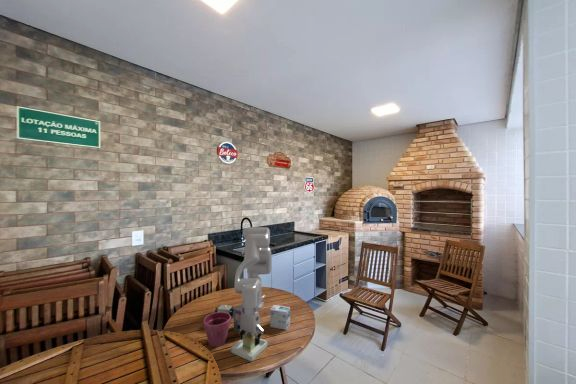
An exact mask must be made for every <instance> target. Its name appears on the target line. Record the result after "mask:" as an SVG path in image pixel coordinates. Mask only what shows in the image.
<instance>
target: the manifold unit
mask: <svg viewBox="0 0 576 384" xmlns="http://www.w3.org/2000/svg"><path fill="white" fill-rule="evenodd" d="M241 311H242V303H240V304H239V305H238V306H236V307H234V317H233V332H235V333H237V334H239V335H240V332H239V329H238V327H237V326H238V325H237V323H236V321H238V320H240V317H241ZM246 332H247V331H245V333H246Z"/></svg>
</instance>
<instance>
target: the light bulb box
mask: <svg viewBox="0 0 576 384" xmlns="http://www.w3.org/2000/svg"><path fill="white" fill-rule="evenodd" d="M269 320H270V321H269V327H270V328H273V329H280V330H285V331H287V330H288V328H289V327H290V325H291V307H290V306H284V305H278V304H273V306H272V307H271V308H270V309H269Z"/></svg>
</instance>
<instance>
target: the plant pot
mask: <svg viewBox="0 0 576 384" xmlns="http://www.w3.org/2000/svg"><path fill="white" fill-rule="evenodd" d="M231 324H232V319H231V316H230V314H228V313H226V312H216V313H215V312H212V313H209V314H208V315H206V316H205V317H204V319H203V330H205V334H206V335H205V336H206V339H207V342H208V345H209V346H211V347H214V348H215V347H221V346H223V345H224V344H226V341H227V337H228V332H229V330H230V329H229V328H230V325H231Z"/></svg>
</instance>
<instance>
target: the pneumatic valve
mask: <svg viewBox="0 0 576 384" xmlns="http://www.w3.org/2000/svg"><path fill="white" fill-rule="evenodd" d="M234 308H235V307H234V305H229V304H225V305H224V304H219V305H218V306H217V307H215V310H214V313H216V312H226V313H228V314H230V316H231V320H232V319H234Z"/></svg>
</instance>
